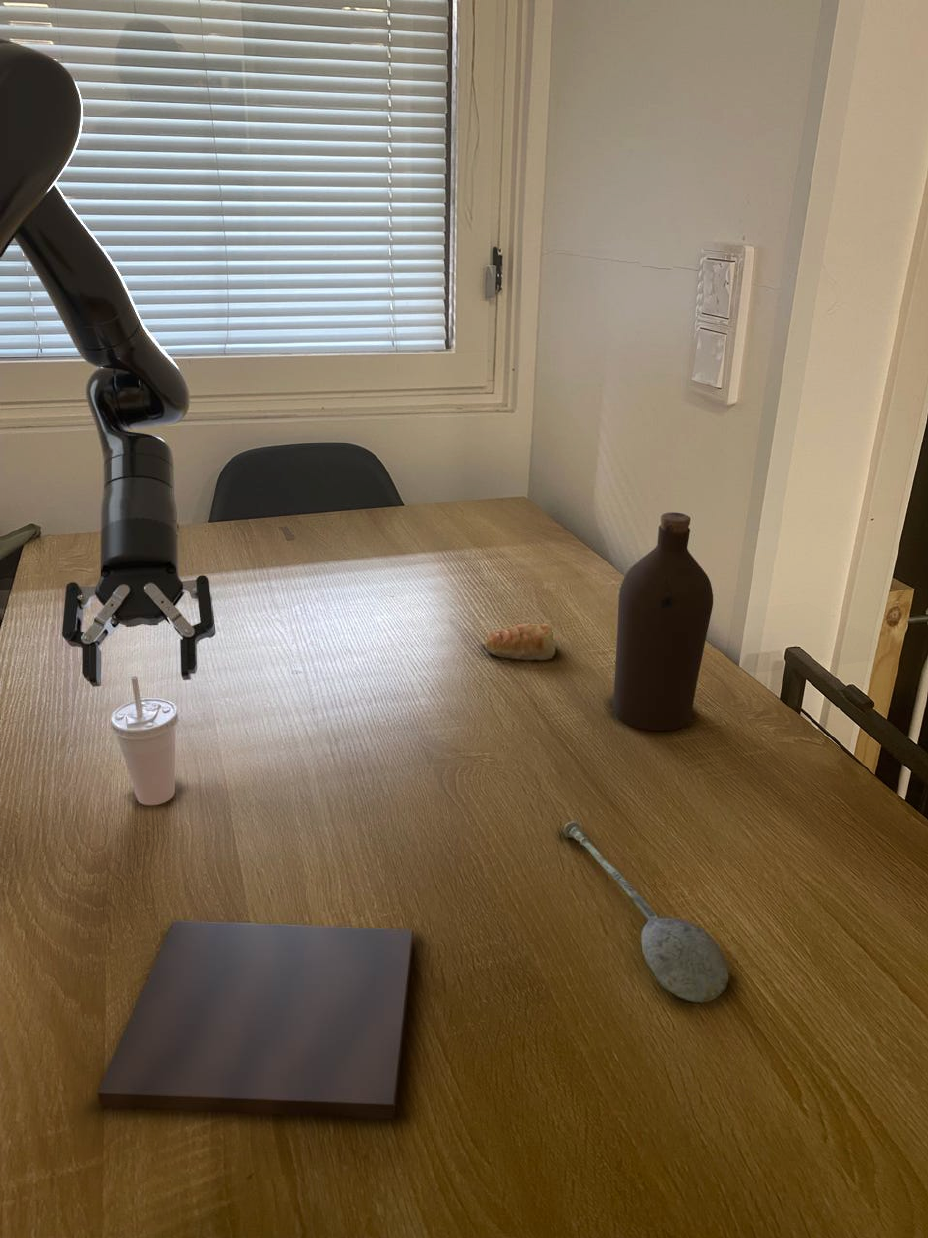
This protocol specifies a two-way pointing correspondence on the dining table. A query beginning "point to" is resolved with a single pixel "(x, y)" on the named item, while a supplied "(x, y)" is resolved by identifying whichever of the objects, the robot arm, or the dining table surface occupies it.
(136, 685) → the smoothie
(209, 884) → the dining table surface
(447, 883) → the dining table surface
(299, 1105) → the board
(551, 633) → the pastry
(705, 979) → the soupspoon
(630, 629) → the olive oil
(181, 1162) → the dining table surface
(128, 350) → the robot arm
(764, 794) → the dining table surface
